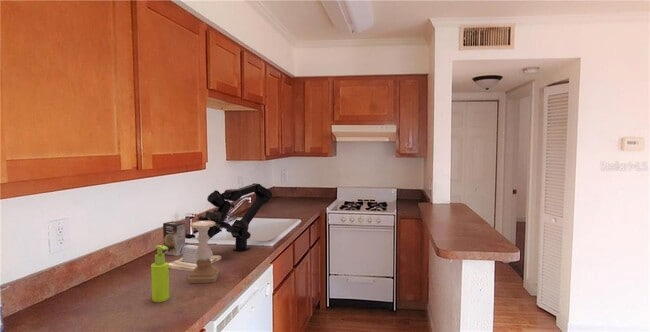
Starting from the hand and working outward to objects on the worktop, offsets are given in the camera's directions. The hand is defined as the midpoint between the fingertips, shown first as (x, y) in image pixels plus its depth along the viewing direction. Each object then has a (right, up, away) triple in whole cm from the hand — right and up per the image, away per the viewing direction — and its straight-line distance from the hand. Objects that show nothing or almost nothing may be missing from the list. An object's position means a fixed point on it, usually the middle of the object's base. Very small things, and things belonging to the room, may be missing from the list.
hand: (207, 239), depth 186 cm
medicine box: (-5, -11, -6) cm, 13 cm away
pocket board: (-4, -10, -5) cm, 12 cm away
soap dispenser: (-3, -13, -46) cm, 48 cm away
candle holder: (+6, -12, -25) cm, 28 cm away
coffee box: (-20, -9, +11) cm, 25 cm away
